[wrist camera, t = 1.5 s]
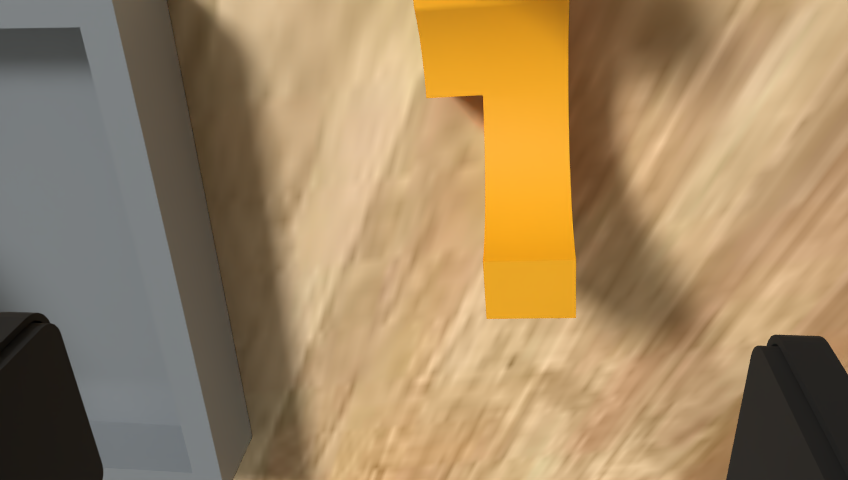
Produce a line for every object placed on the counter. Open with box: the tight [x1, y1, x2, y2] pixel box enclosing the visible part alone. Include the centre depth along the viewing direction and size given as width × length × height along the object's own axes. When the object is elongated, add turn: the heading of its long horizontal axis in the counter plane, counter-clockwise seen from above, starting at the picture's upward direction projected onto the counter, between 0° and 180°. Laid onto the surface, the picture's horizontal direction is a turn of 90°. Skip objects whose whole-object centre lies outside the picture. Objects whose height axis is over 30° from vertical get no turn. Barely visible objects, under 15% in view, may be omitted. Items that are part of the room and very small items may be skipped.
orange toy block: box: [413, 0, 576, 319], centre depth 22 cm, size 12×4×6 cm, turn 5°
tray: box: [0, 0, 252, 480], centre depth 29 cm, size 13×20×4 cm, turn 2°
